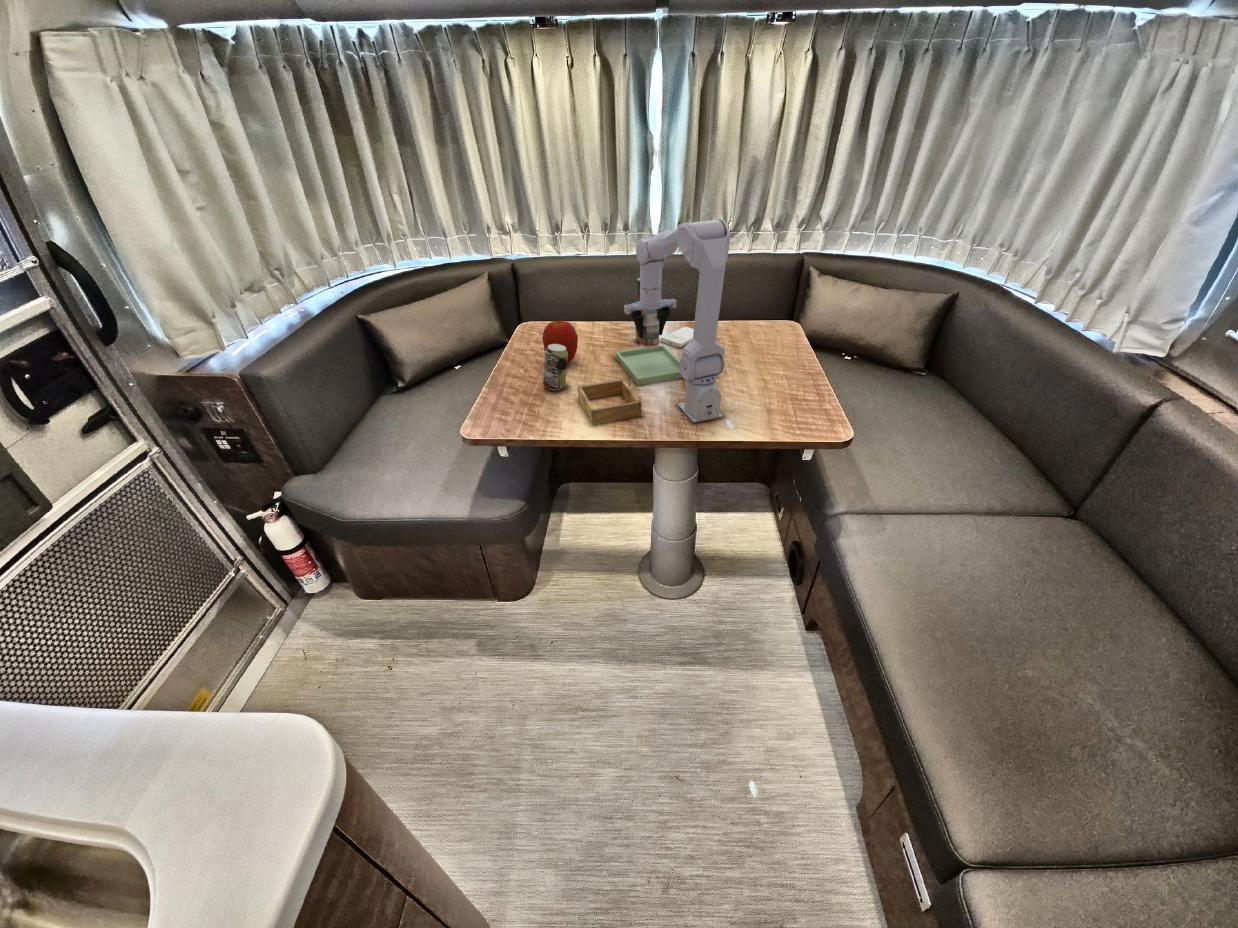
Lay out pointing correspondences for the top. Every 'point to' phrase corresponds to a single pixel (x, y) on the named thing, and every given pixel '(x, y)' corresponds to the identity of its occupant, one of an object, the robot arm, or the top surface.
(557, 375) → the beverage can
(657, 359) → the tray
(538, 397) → the top surface
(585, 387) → the open wooden box
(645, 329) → the pill bottle
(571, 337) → the apple
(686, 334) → the hard drive
